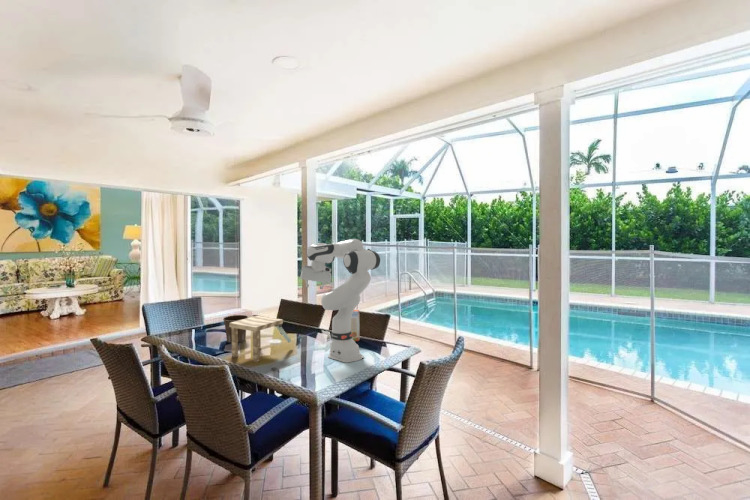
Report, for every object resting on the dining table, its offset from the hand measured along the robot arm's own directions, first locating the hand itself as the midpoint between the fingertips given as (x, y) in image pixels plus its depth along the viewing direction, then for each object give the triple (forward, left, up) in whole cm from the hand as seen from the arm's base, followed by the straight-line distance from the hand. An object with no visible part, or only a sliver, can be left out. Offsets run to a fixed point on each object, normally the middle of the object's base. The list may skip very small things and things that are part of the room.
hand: (314, 288), depth 246 cm
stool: (+7, +36, -38) cm, 53 cm away
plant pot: (+45, +35, -38) cm, 69 cm away
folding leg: (+6, +15, -34) cm, 38 cm away
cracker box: (-5, -25, -38) cm, 46 cm away
